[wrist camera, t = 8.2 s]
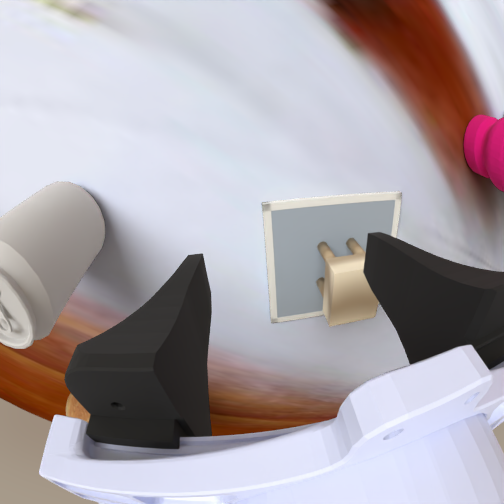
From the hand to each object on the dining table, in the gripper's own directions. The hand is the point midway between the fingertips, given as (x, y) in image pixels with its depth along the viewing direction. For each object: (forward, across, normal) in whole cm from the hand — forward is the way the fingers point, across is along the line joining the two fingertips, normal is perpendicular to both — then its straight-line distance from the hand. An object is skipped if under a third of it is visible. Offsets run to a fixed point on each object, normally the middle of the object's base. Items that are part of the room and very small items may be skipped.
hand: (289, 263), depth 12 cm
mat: (+10, -6, +7) cm, 14 cm away
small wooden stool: (+10, -6, +7) cm, 14 cm away
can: (+11, +16, 0) cm, 19 cm away
